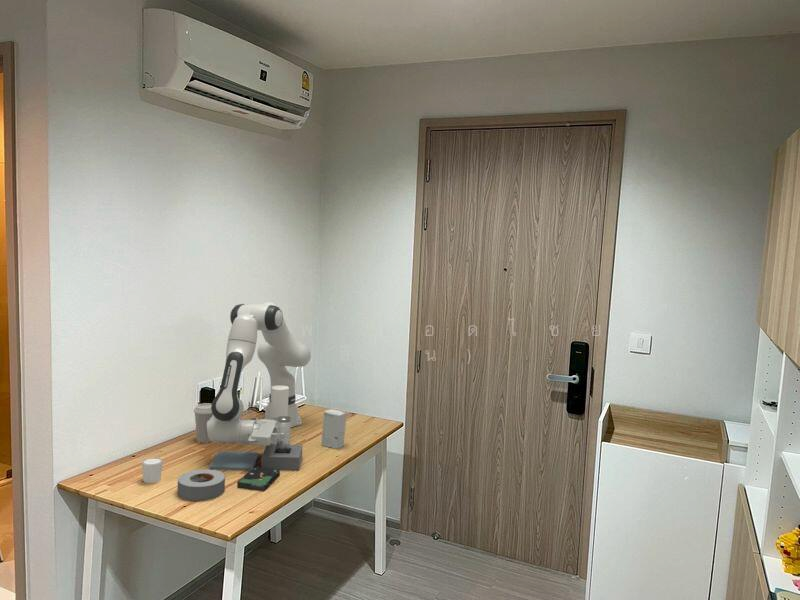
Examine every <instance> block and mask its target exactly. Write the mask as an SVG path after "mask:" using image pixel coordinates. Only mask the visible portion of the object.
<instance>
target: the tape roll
mask: <svg viewBox="0 0 800 600" xmlns="http://www.w3.org/2000/svg"><path fill="white" fill-rule="evenodd" d="M225 488H226V476H225V474H224V473H223V472H222V471H221V470H214V469H209V468H208V469H206V468H205V469H195V470H191V471H187V472H184V473H182V474H180V475H179V477H178V478H177V494H176V495H177V496H178V497H179V498H180V499H182V500H185V501H191V502H192V501H193V502H203V501H209V500H213V499H216V498H218V497H220V496H222V495H224V493H225V490H226V489H225Z"/></svg>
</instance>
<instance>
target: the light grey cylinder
mask: <svg viewBox="0 0 800 600" xmlns="http://www.w3.org/2000/svg"><path fill="white" fill-rule="evenodd" d="M163 463H164V461H163V459H161V458H158V457H151V458H146V459H144V460H142V462H141V469H142V470H141V471H142V480H143V481H144V482H145V483H144V482H143V481H142V482H143V483H144V484H147V483H153V484H156V483H155V482H157V483H159V482H161V480H162V471H163ZM158 481H159V482H158Z"/></svg>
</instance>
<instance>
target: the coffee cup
mask: <svg viewBox="0 0 800 600" xmlns="http://www.w3.org/2000/svg"><path fill="white" fill-rule="evenodd" d="M211 405H212V403H209V402H208V403H207V402H205V403H204V402H203V403H198V404H197V405H195V407H194V409H193V413H194V420H195V421H194V422H195V434H196V442H197V443H199V442H201V443H200V444H208V443H207V442H209V443H211V440H209V438H208V437H207V434H206V424H207V422H208V421H209V420H210V418H211V417H212V416H213V413H212V410H211Z"/></svg>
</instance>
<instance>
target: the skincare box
mask: <svg viewBox="0 0 800 600" xmlns="http://www.w3.org/2000/svg"><path fill="white" fill-rule="evenodd" d="M347 416H348V415H347V412H345V411H341V410H337V409H332V408H331V409H327V410H324V411H323V422H322V434H321V444H320V445H321V446H323V447H327V448H331V449H335V450H338V449H340V448H342V447H344V445H345V437H346V436H345V435H346V425H347V424H346V423H347Z"/></svg>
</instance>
